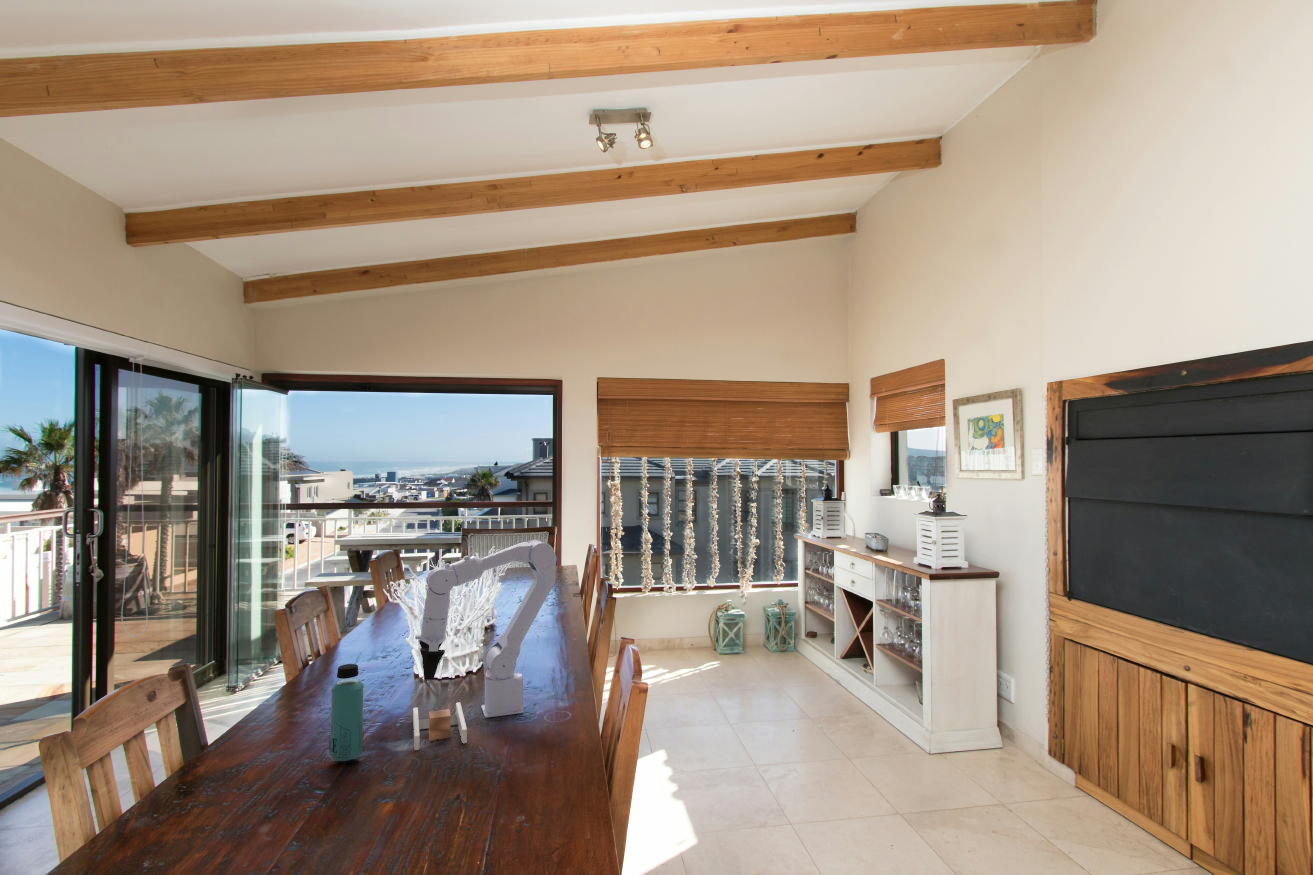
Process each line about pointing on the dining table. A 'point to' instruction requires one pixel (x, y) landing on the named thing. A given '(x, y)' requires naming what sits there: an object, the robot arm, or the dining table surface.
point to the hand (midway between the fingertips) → (428, 674)
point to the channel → (455, 721)
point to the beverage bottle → (346, 715)
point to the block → (439, 724)
